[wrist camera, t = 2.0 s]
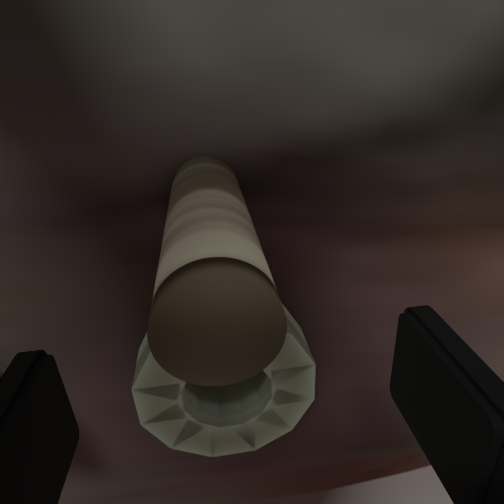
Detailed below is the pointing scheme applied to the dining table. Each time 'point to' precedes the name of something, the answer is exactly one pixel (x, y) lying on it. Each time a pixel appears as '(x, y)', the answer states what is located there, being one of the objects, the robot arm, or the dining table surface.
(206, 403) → the bead
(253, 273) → the peg
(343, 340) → the dining table surface
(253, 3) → the dining table surface
